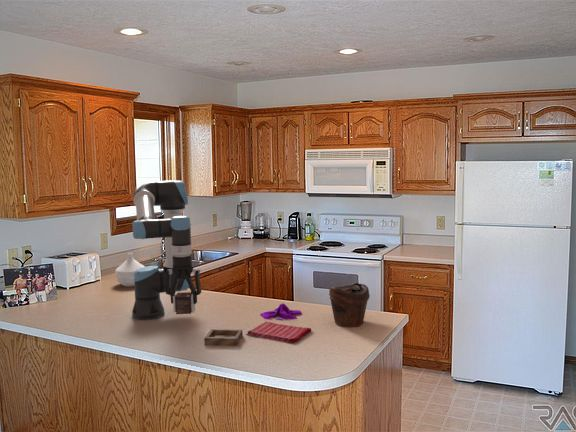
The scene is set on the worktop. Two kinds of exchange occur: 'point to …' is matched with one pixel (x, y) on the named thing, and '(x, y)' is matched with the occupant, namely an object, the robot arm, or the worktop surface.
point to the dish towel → (279, 332)
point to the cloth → (281, 313)
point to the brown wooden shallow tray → (223, 337)
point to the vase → (127, 271)
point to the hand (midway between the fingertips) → (184, 311)
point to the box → (183, 303)
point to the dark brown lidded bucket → (349, 304)
